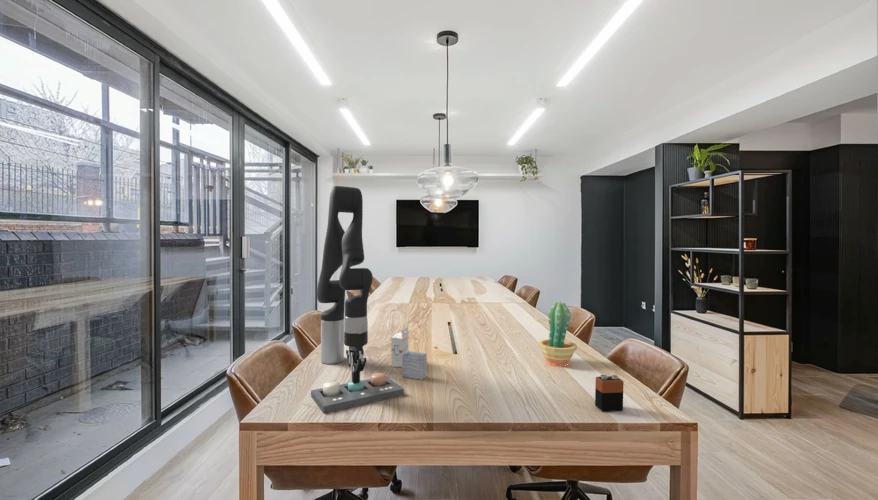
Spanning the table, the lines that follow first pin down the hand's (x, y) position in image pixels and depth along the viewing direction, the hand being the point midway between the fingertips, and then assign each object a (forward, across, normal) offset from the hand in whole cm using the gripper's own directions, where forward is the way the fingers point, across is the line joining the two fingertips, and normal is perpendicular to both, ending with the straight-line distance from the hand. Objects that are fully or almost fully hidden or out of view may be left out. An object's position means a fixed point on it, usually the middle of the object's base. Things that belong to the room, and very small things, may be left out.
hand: (355, 382), depth 127 cm
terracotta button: (+2, 0, +8) cm, 8 cm away
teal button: (+3, 0, 0) cm, 3 cm away
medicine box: (+4, -4, +24) cm, 25 cm away
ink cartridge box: (+4, -20, +26) cm, 33 cm away
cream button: (+2, 0, -8) cm, 8 cm away
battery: (+4, +50, +61) cm, 79 cm away
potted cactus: (+4, +12, +82) cm, 83 cm away
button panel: (+4, +2, 0) cm, 4 cm away
